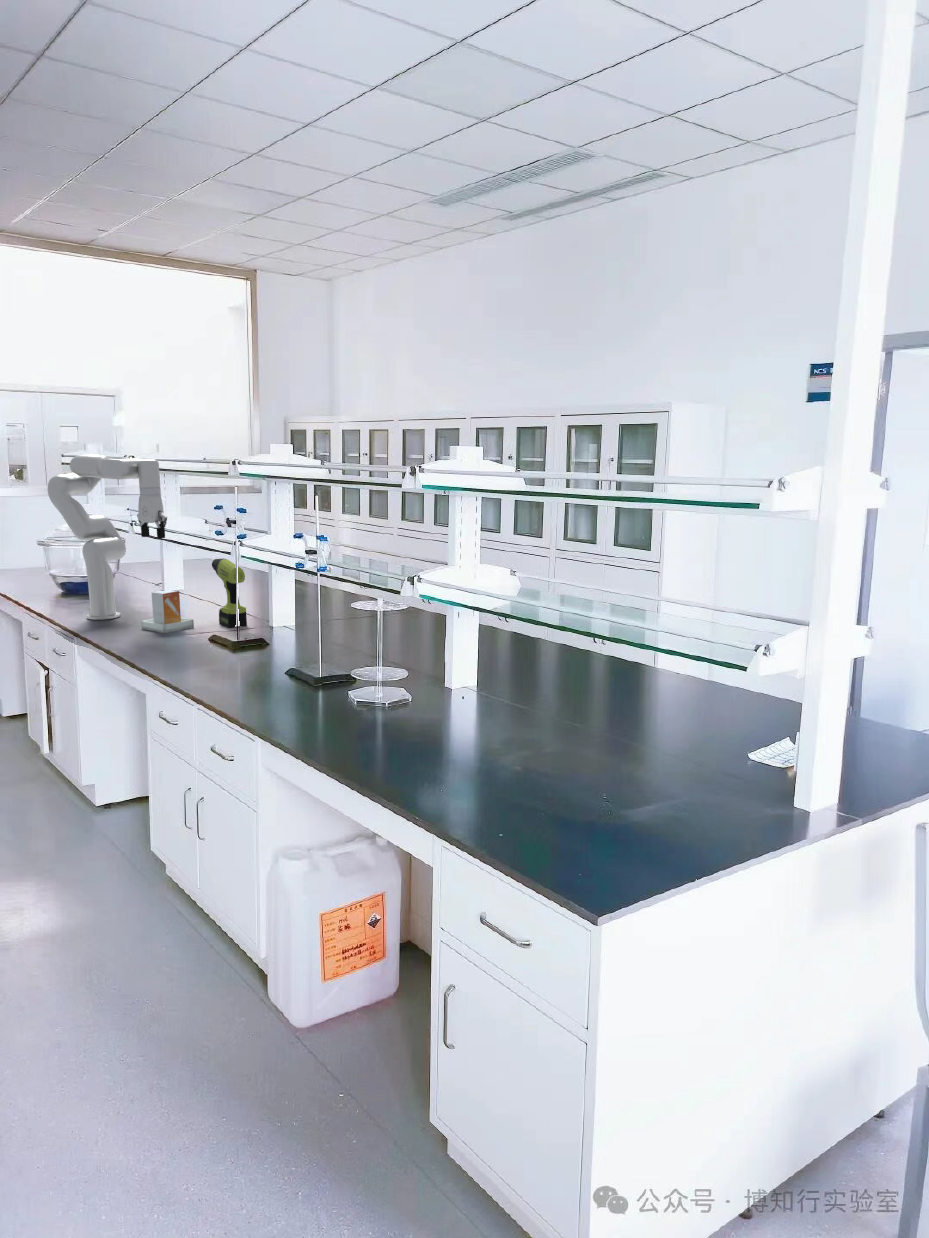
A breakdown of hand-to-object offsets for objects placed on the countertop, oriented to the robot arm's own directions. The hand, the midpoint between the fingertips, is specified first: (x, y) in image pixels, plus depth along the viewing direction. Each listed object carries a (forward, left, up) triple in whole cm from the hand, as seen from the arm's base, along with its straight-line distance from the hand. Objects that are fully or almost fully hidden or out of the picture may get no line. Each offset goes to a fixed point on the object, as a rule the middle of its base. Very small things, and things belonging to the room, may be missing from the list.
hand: (153, 537), depth 349 cm
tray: (+12, -5, -33) cm, 36 cm away
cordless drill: (+24, +14, -33) cm, 43 cm away
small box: (+12, -5, -32) cm, 35 cm away
